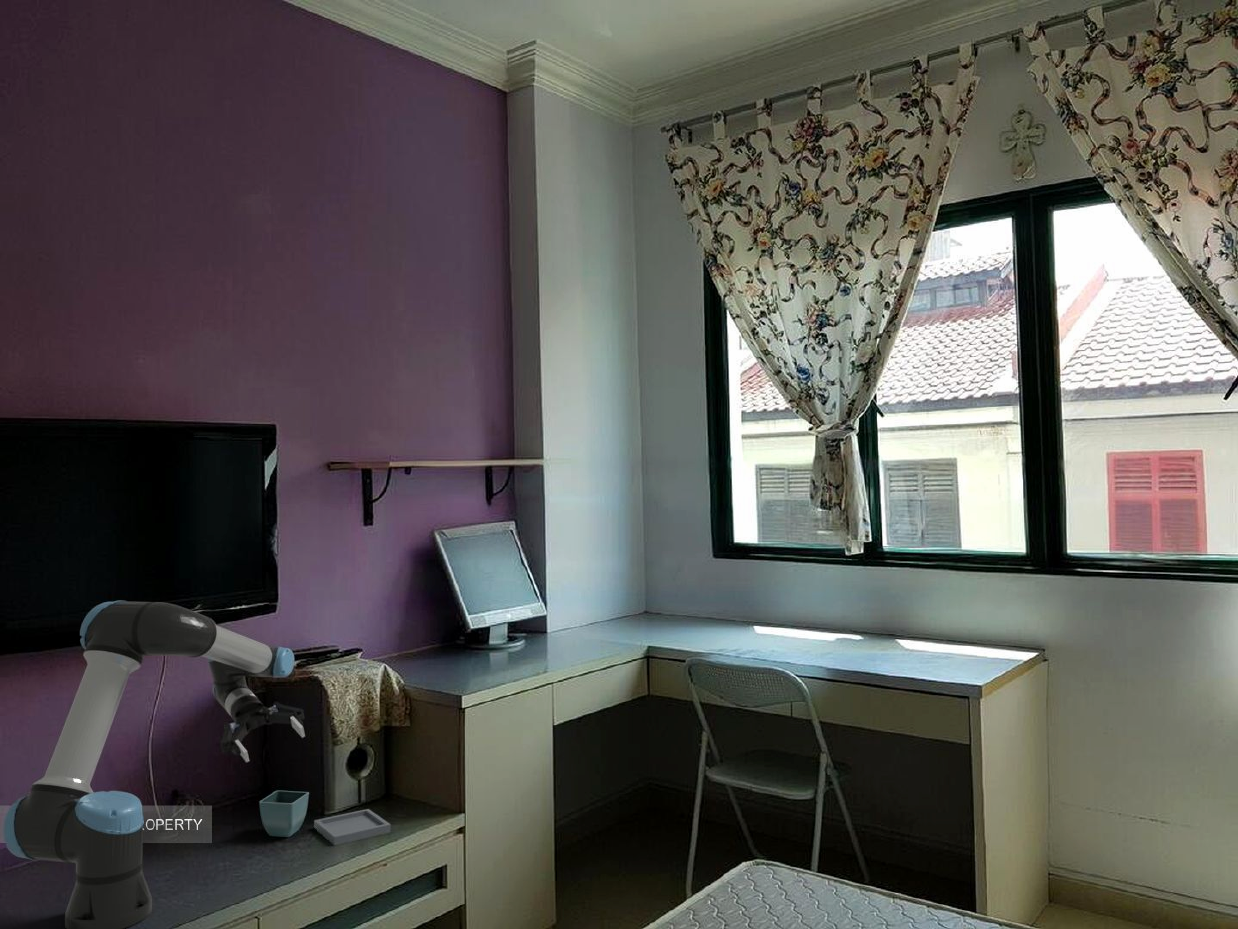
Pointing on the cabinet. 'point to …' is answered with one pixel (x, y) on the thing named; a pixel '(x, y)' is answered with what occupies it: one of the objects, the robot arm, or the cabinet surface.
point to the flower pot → (283, 812)
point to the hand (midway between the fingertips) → (275, 744)
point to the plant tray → (352, 826)
